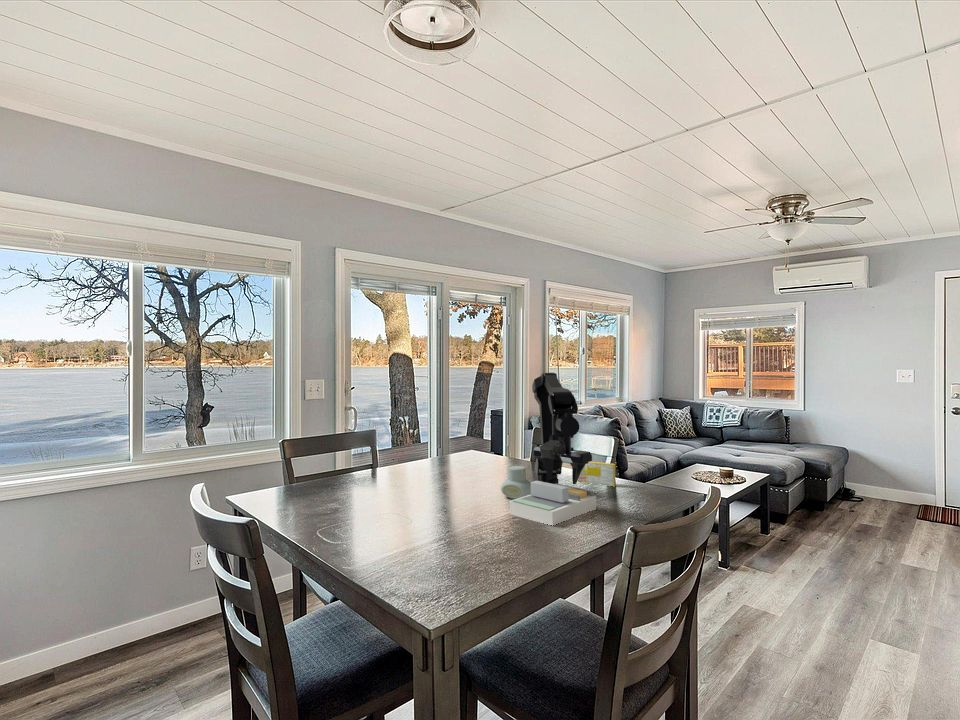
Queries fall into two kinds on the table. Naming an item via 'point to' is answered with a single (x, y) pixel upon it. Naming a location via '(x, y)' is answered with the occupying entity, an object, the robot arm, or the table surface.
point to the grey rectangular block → (550, 491)
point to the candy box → (598, 473)
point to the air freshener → (516, 483)
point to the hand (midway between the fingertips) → (562, 481)
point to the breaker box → (552, 507)
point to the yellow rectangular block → (578, 492)
